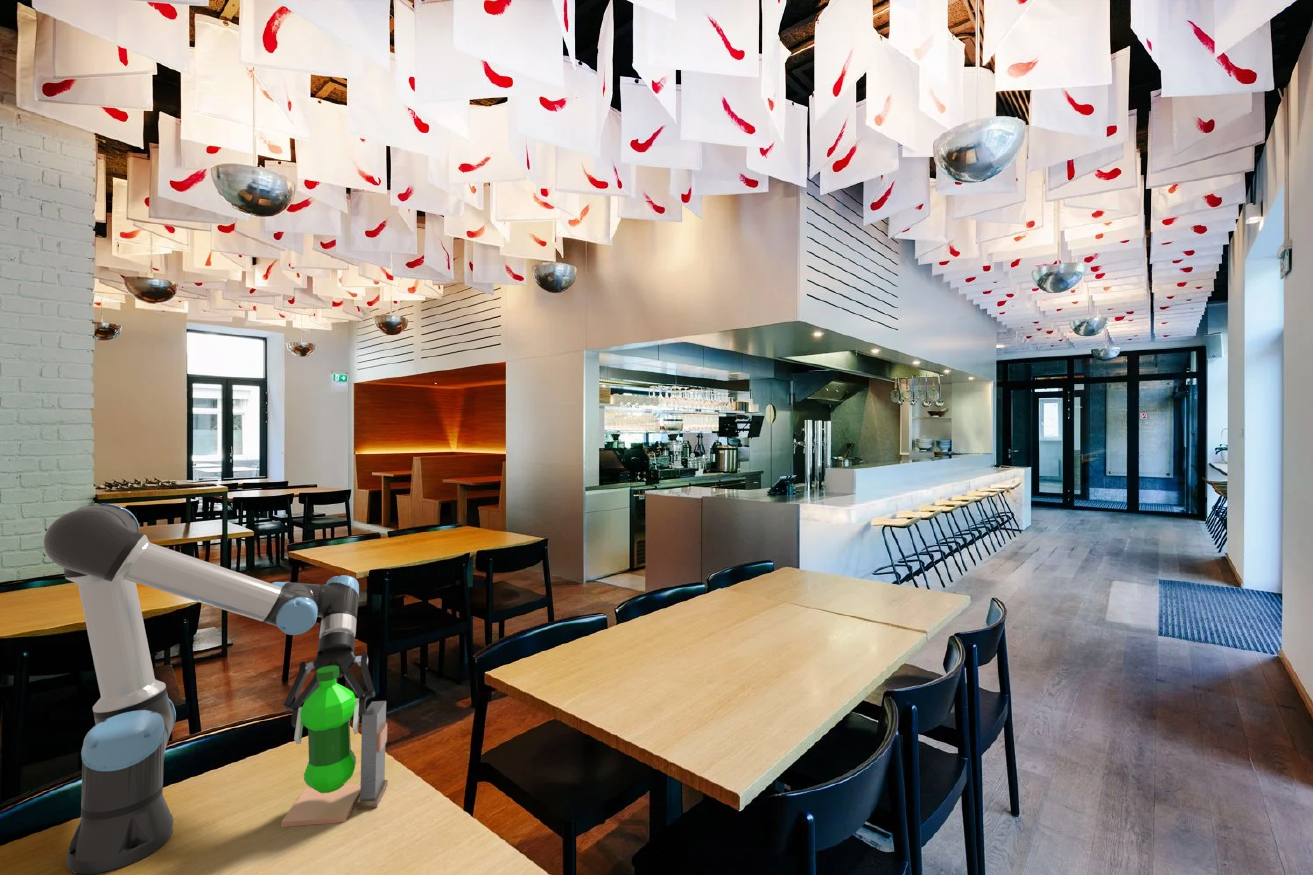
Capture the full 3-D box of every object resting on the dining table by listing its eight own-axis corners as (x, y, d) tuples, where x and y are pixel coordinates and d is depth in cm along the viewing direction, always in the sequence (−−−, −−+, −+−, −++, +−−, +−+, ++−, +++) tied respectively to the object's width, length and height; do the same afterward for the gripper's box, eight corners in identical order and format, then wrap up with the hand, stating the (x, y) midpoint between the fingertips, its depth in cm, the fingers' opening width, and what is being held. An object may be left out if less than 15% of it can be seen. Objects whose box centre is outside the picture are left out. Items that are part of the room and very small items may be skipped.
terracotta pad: (281, 826, 120) (281, 821, 120) (305, 792, 132) (306, 787, 132) (345, 821, 122) (345, 816, 122) (363, 788, 134) (363, 783, 134)
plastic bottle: (299, 805, 121) (295, 682, 121) (308, 778, 130) (305, 664, 131) (354, 793, 124) (351, 673, 124) (359, 768, 134) (356, 657, 134)
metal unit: (356, 809, 126) (358, 716, 126) (368, 787, 134) (370, 700, 134) (377, 807, 127) (379, 715, 127) (387, 786, 135) (389, 699, 135)
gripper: (391, 639, 146) (387, 732, 131) (284, 653, 138) (267, 754, 123) (388, 623, 141) (384, 718, 126) (278, 637, 133) (259, 740, 118)
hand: (326, 736), depth 125 cm, fingers closed on plastic bottle, 10 cm apart
